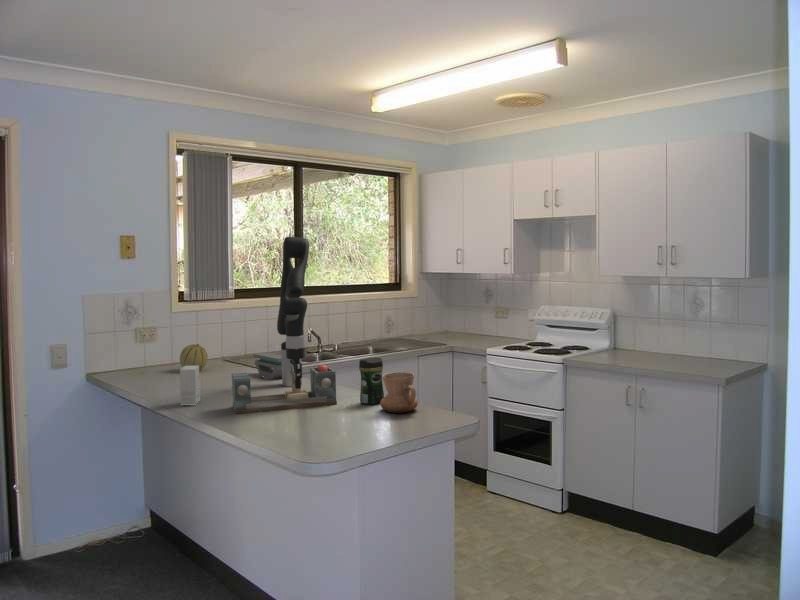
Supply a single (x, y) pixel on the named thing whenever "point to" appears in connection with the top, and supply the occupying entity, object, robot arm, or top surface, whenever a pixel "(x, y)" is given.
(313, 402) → the rail track
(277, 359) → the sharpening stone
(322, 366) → the button
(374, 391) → the coffee jar
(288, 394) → the carriage
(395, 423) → the top surface
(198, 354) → the cantaloupe
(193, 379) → the skincare box
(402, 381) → the ceramic jug
